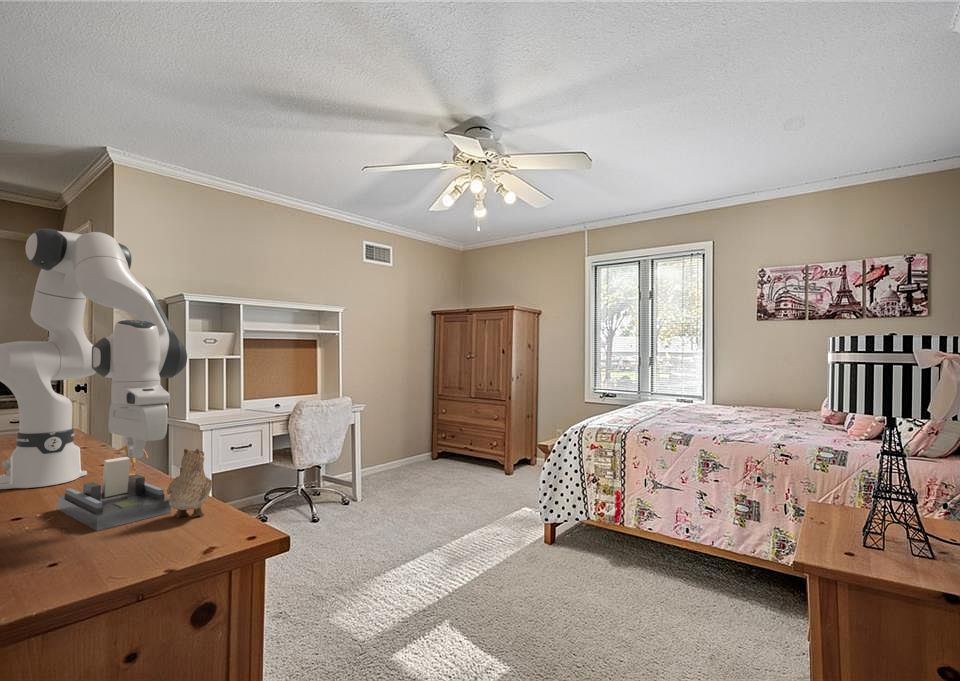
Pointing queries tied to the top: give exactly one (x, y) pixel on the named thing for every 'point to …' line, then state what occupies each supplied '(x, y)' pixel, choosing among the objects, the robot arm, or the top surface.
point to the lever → (115, 477)
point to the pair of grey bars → (97, 505)
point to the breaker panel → (116, 506)
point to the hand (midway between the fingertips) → (135, 457)
